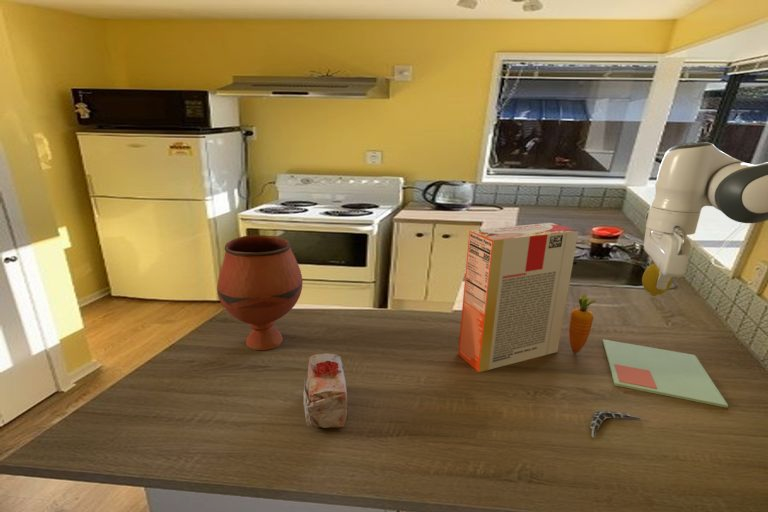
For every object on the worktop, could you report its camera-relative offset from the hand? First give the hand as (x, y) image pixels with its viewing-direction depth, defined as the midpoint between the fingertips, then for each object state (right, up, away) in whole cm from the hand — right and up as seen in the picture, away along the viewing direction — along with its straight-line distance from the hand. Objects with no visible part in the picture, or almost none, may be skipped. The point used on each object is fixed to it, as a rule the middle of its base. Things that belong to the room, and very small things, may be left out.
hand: (656, 282), depth 93 cm
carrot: (-14, -18, +8) cm, 24 cm away
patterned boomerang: (-19, -25, -15) cm, 34 cm away
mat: (+1, -20, +2) cm, 20 cm away
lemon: (0, -3, +1) cm, 3 cm away
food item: (-71, -23, -14) cm, 76 cm away
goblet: (-89, -15, +9) cm, 91 cm away
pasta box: (-31, -17, +7) cm, 36 cm away
